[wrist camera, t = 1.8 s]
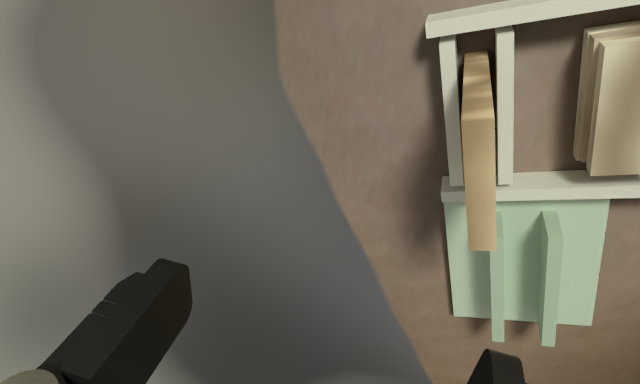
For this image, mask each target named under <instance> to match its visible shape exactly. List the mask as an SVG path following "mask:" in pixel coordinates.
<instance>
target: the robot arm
mask: <svg viewBox="0 0 640 384" xmlns="http://www.w3.org/2000/svg"><path fill="white" fill-rule="evenodd" d="M191 308H192V293H191V284H190V274H189V268H188V266H187V265H185V264H181V263H177V262H174V261H170V260H166V259H163V258H161V259H158V260H157V261H156V262H155V263H154V264H153V265H152V266H151V267H150V268H149V269H148V270H147V272H146V273H145V274H143V273H139V272H136V273H134V274H132V275H131V276H129V277H127V278H126V279H124V280H122V281H120V282H119V283H117V285H116V286H115V287H114V288H113V289H112V290H111V291H110V292H109V293H108V294H107V295H106V296H105V297H104V300H103V301H101V302H100V303H99V304H98V305H97V306H96V307H95V308H94V309H93V310H92V313H91V314H89V315H88V316H87V317H86V318H85V319H84V320H83V321H82V322H81V323H80V324H79V325H78V326H77V327H76V329H75V330H74V331H73V332H72V333H71V334H70V335H69V336H68V337H67V338H66V339H65V340H64V341H63V342H62V344H60V346H59V347H58V348H57V349H56V350H55V351H54V352H53V353H52V354H51V355H50V356H49V357H48V358H47V359H46V360H45V362H43V363H42V364H41V365H40V366H39V367H38V368H36V369H34V370H27V371H24V372H20V373H17V374H15V375H13V376H11V377H9V378H7V379H6V380H4V381H3V382H1V383H0V384H146V382H147V381H148V379H149V378H150V376H151V375H152V373H153V372H154V370H155V369H156V367H157V366H158V364H159V363H160V361H161V360H162V358H163V357H164V355H165V354H166V352H167V351H168V349H169V348H170V346H171V345H172V343H173V342H174V340H175V339H176V337H177V336H178V334H179V333H180V331H181V330H182V328H183V327H184V325H185V324H186V322H187V320H188V318H189V316H190V313H191ZM467 384H526V383H525V380H524V374H523V368H522V363H521V360H520V359H519V358H518V357H516V356H512V355H508V354H505V353H501V352H498V351H494V350H490V349H485V350H484V352H483V353H482V355H481V357H480V359H479V361H478V363H477V365H476V367H475V369H474V371H473V373H472V375H471V377H470V378H469V380H468V383H467Z"/></svg>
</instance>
